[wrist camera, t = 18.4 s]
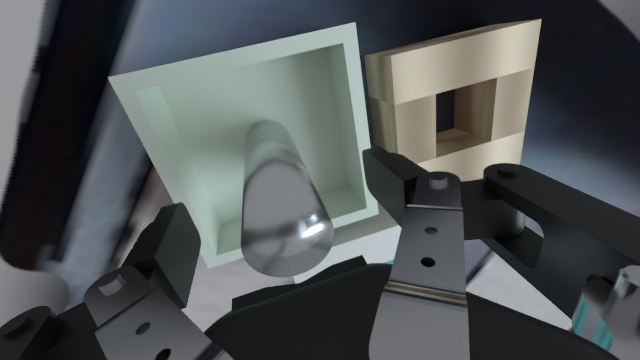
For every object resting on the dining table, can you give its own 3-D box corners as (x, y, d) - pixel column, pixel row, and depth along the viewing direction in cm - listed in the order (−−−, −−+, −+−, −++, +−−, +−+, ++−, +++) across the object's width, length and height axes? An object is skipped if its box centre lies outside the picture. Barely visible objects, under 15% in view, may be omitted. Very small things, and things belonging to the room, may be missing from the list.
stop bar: (288, 248, 24) (298, 292, 20) (279, 221, 23) (287, 261, 18) (431, 202, 26) (469, 232, 21) (431, 174, 25) (471, 201, 20)
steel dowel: (252, 169, 19) (254, 287, 10) (239, 125, 18) (227, 215, 8) (295, 159, 20) (339, 263, 10) (286, 116, 18) (328, 189, 9)
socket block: (378, 180, 23) (401, 203, 20) (364, 55, 19) (390, 55, 15) (480, 149, 25) (519, 165, 21) (489, 25, 20) (541, 18, 17)
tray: (215, 230, 22) (208, 268, 18) (140, 71, 16) (107, 77, 12) (356, 187, 23) (378, 214, 19) (331, 29, 18) (355, 21, 14)
